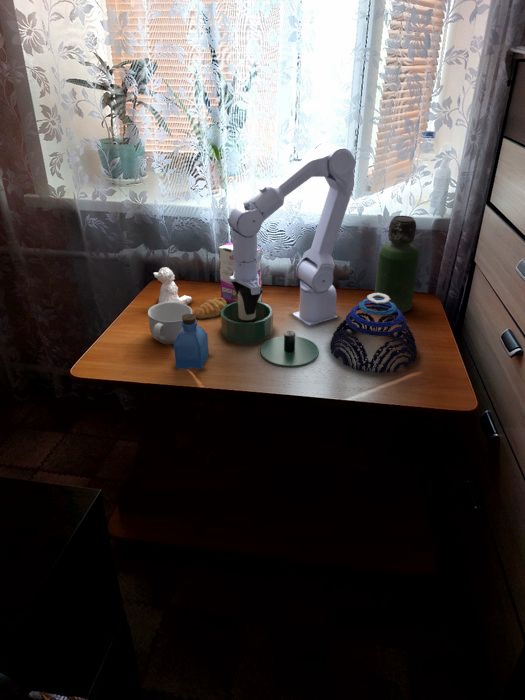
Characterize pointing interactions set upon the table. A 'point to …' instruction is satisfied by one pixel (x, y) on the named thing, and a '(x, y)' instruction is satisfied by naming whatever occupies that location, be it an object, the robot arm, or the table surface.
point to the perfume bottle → (191, 344)
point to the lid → (289, 350)
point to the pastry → (210, 308)
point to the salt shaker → (243, 310)
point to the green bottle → (398, 264)
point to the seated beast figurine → (169, 288)
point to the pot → (247, 324)
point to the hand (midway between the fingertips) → (246, 309)
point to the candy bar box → (227, 271)
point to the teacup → (167, 320)
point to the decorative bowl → (366, 330)
